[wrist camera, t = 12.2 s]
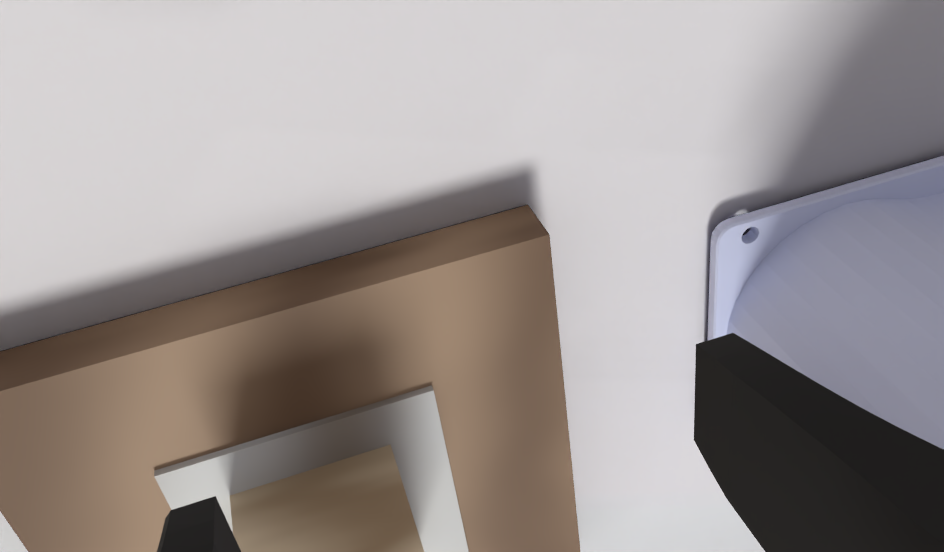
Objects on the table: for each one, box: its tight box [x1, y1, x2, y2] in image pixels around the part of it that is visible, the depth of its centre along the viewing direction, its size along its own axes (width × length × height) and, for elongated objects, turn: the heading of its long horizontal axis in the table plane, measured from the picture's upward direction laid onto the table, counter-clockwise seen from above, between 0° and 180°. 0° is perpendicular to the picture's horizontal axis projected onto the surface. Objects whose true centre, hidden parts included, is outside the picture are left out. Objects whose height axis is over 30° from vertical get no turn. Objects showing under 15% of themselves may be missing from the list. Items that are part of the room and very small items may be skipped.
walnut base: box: [0, 205, 580, 552], centre depth 24 cm, size 14×14×2 cm
